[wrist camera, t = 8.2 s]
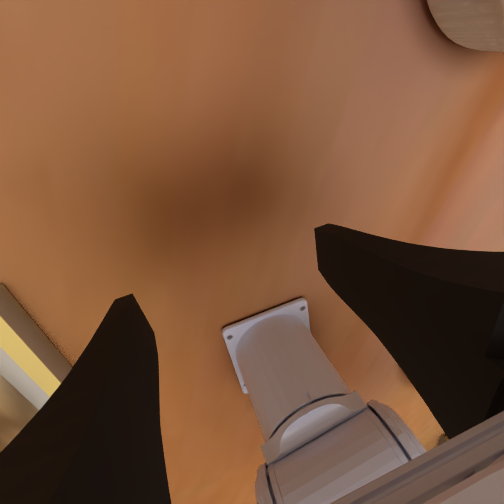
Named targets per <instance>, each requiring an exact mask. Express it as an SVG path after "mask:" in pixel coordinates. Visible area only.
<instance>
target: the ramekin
mask: <svg viewBox="0 0 504 504" xmlns="http://www.w3.org/2000/svg"><path fill="white" fill-rule="evenodd" d="M427 3H428V6H429V9H430V11H431V14H432V16H433V17H434V19H435V21H436V23H437V25H438V26H439V27H440V29H441V31H442V32H443V33H444V34H445V35H446V36H447V37H448V38H449V39H451V40H452V41H453V42H455V43H456V44H458V45H461V46H463V47H465V48H470V49H475V50H480V51H492V52H504V0H427Z"/></svg>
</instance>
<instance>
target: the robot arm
mask: <svg viewBox="0 0 504 504" xmlns="http://www.w3.org/2000/svg"><path fill="white" fill-rule="evenodd" d="M314 230H315V240H316V251H317V261H318V270H319V271H320V273H321V274H322V276H323V277H324V278H325V280H326V281H327V283H328V284H329V285H330V287H331V288H332V289H333V290H334V291H335V292H336V293H337V295H338V296H339V297H340V298H341V299H342V300H343V301H344V302H345V303H346V304H347V305H348V306H349V307H350V308H351V309H352V310H353V311H354V312H355V313H356V314H357V315H358V316H359V317H360V319H361V320H362V321H363V322H364V323H365V324H366V325H367V326H368V327H369V328H370V329H371V330H372V331H373V333H374V334H375V335H376V336H377V337H378V339H379V340H380V341H381V342H382V344H383V345H384V346H385V348H386V349H387V350H388V351H389V353H390V354H391V355H392V357H393V358H394V359H395V361H396V362H397V363H398V365H399V366H400V368H401V369H402V370H403V372H404V373H405V374H406V376H407V377H408V378H409V380H410V381H411V383H412V384H413V386H414V387H415V389H416V390H417V391H418V393H419V394H420V396H421V397H422V399H423V400H424V402H425V403H426V404H427V406H428V407H429V409H430V411H431V412H432V414H433V415H434V417H435V418H436V420H437V421H438V423H439V424H440V426H441V427H442V429H443V431H444V432H445V434H446V435H447V437H448V438H449V440H448V441H446V442H444V443H442V444H441V445H439V446H437V447H435V448H433V449H431V450H429V451H427V452H426V450H425V449H424V447H423V446H422V444H421V443H420V442H419V440H418V439H417V437H416V436H415V435H414V433H413V432H412V431H411V429H410V428H409V427H408V426H407V424H406V423H405V422H404V421H403V420H402V419H401V417H400V416H399V415H398V414H397V413H396V412H395V411H394V410H393V409H392V408H390V407H389V406H388V405H385V404H383V403H380V402H378V401H376V400H371V401H369V402H368V403H365V402H364V400H363V399H362V398H361V396H360V395H359V393H358V392H357V391H354V392H352V393H351V391H350V390H349V388H348V387H347V385H346V384H345V382H344V381H343V380H342V378H341V377H340V375H339V374H338V372H337V371H336V369H335V368H334V366H333V365H332V364H331V362H330V361H329V359H328V358H327V356H326V355H325V353H324V352H323V351H322V349H321V348H320V346H319V345H318V343H317V342H316V340H315V339H314V337H313V336H312V335H311V331H310V323H309V315H308V306H307V301H306V300H305V299H304V298H299V299H296V300H294V301H291V302H289V303H286V304H284V305H281V306H278V307H276V308H273V309H271V310H268V311H265V312H263V313H260V314H258V315H255V316H253V317H250V318H247V319H245V320H242V321H240V322H237V323H234V324H232V325H229V326H227V327H225V328H224V329H223V330H222V334H223V337H224V340H225V343H226V345H227V348H228V351H229V354H230V357H231V359H232V362H233V365H234V368H235V371H236V374H237V376H238V379H239V382H240V385H241V388H242V390H243V393H245V394H246V393H248V394H249V397H250V400H251V403H252V406H253V408H254V411H255V414H256V417H257V420H258V423H259V425H260V428H261V431H262V434H263V437H264V440H265V443H264V444H262V445H261V448H262V451H263V454H264V457H265V460H266V462H265V463H263V464H262V465H260V466H259V467H258V470H257V477H256V481H255V495H256V500H257V504H504V252H485V251H468V250H455V249H445V248H437V247H430V246H423V245H416V244H411V243H406V242H401V241H396V240H392V239H387V238H383V237H379V236H375V235H371V234H367V233H364V232H360V231H357V230H353V229H349V228H346V227H342V226H338V225H333V224H325V225H323V226H320V227H317V228H314ZM302 306H303V307H302ZM301 307H302V308H301ZM229 335H231V336H229ZM0 504H171V499H170V493H169V487H168V480H167V473H166V466H165V459H164V452H163V444H162V436H161V427H160V404H159V365H158V352H157V346H156V340H155V335H154V331H153V330H152V328H151V326H150V324H149V322H148V321H147V319H146V317H145V315H144V313H143V312H142V310H141V308H140V306H139V304H138V303H137V301H136V299H135V297H134V296H133V294H129V295H127V296H124V297H121V298H118V299H115V301H114V302H113V304H112V305H111V307H110V309H109V310H108V312H107V314H106V316H105V317H104V319H103V321H102V322H101V324H100V326H99V327H98V329H97V331H96V332H95V334H94V336H93V337H92V339H91V341H90V342H89V344H88V345H87V347H86V348H85V350H84V351H83V353H82V354H81V356H80V357H79V359H78V360H77V362H76V363H75V365H74V366H73V368H72V369H71V371H70V372H69V373H68V375H67V376H66V377H65V379H64V380H63V381H62V383H61V384H60V385H59V387H58V388H57V389H56V390H55V392H54V393H53V394H52V395H51V397H50V398H49V399H48V400H47V402H46V403H45V404H44V405H43V406H42V408H41V409H40V410H39V411H38V412H37V413H36V414H35V415H34V417H33V418H32V419H31V420H30V421H29V422H28V423H27V424H26V425H25V427H24V428H23V429H22V430H21V431H20V432H19V433H18V434H17V435H16V437H15V438H14V439H13V440H12V441H11V442H10V443H9V444H8V445H7V446H6V447H5V448H4V449H3V450H2V451H1V452H0Z"/></svg>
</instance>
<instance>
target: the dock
mask: <svg viewBox="0 0 504 504" xmlns="http://www.w3.org/2000/svg"><path fill="white" fill-rule="evenodd" d="M71 369H72V366H71V365H70V364H69V363H68V362H67V360H66V359H65V358H64V357H63V356H62V354H61V353H60V352H59V351H58V350H57V348H56V347H55V346H54V345H53V344H52V342H51V341H50V340H49V339H48V338H47V336H46V335H45V334H44V333H43V332H42V330H41V329H40V328H39V327H38V326H37V324H36V323H35V322H34V321H33V320H32V318H31V317H30V316H29V315H28V314H27V312H26V311H25V310H24V309H23V307H22V306H21V305H20V304H19V303H18V301H17V300H16V299H15V298H14V297H13V295H12V294H11V293H10V292H9V291H8V289H7V288H6V287H5V286H4V285H3V283H2V284H0V374H1V375H2V376H3V377H4V378H5V379H6V380H7V381H8V382H9V383H11V384H12V385H13V386H14V387H15V388H16V389H17V390H18V391H19V392H20V393H21V394H22V395H23V396H24V397H25V398H26V399H27V400H29V401H30V402H31V403H32V404H33V405H34V406H35V407H36V408H37V409H38V410H40V409H41V408H42V406H43V405H44V404H45V403H46V402H47V400H48V399H49V398H50V397H51V395H52V394H53V393H54V392H55V390H56V389H57V388H58V387H59V385H60V384H61V383H62V381H63V380H64V379H65V377H66V376H67V375H68V373H69V372H70V371H71Z"/></svg>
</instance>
